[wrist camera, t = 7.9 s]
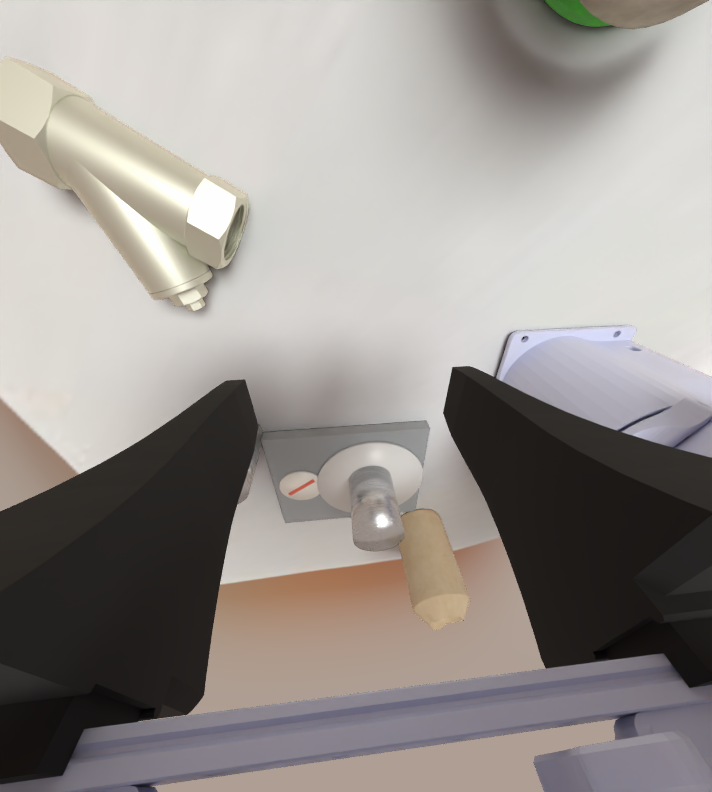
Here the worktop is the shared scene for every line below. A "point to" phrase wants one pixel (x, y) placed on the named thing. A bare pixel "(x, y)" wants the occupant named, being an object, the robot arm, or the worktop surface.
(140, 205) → the pipe fitting
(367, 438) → the scale
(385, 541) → the cylinder
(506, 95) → the worktop surface
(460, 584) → the candle
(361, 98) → the worktop surface
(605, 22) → the multicoloured stacked round part
